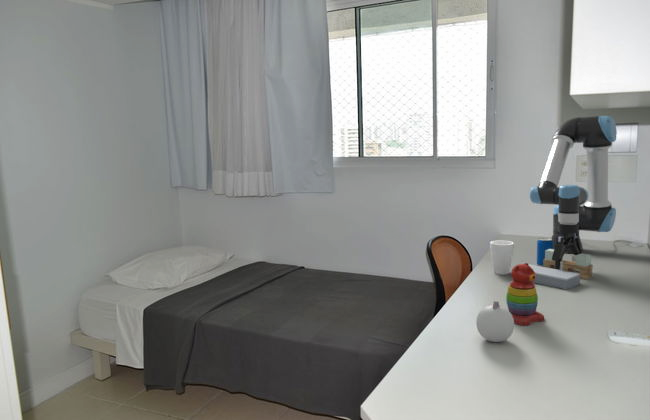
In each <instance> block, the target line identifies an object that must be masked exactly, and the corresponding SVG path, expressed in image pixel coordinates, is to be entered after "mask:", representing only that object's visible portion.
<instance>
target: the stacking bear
mask: <svg viewBox="0 0 650 420" xmlns="http://www.w3.org/2000/svg"><path fill="white" fill-rule="evenodd" d="M528 264H529V263H527V262H525V263H523V264H521V263H520V264H516V265H514V266H513V267H512V269H511V270H510V273H511V278H512V281H511V282H510V283H509V285H508V287H507V292H506V299H505V300H506V305H507V310H508V311H509V312H510V313H511V315H512V317H513V319H514V324H516V325H519V326H530V325H531V324H532V323H534V322H543V321H545V319H546V318H545V315H544V314H543V313H541V312H539V311H537V307H538V300H539V295H538V293H537V292H538V291H537V288H536V284H535V283H534V282H533V281H534V280H535V277H536V274H535V272H534V271H533V269H532V268H531V267H530V266H529V265H528Z"/></svg>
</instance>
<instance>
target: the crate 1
mask: <svg viewBox="0 0 650 420" xmlns="http://www.w3.org/2000/svg"><path fill="white" fill-rule="evenodd" d="M553 252H554V249H548V250H545V260H550V261H553V260H552V256H553Z"/></svg>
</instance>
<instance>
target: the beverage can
mask: <svg viewBox="0 0 650 420" xmlns="http://www.w3.org/2000/svg"><path fill="white" fill-rule="evenodd" d="M551 238H552V237H551ZM551 238H550V237H539V238H538V240H536V265H537V266H541V267H543V260H544V259H545V250H548V249H553V241H552V239H551Z"/></svg>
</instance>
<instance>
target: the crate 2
mask: <svg viewBox="0 0 650 420" xmlns="http://www.w3.org/2000/svg"><path fill="white" fill-rule="evenodd" d="M576 265H579V266H585V267H586V266H589V265H592V255H591V254H587V253H582V254H578V255H576Z"/></svg>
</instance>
